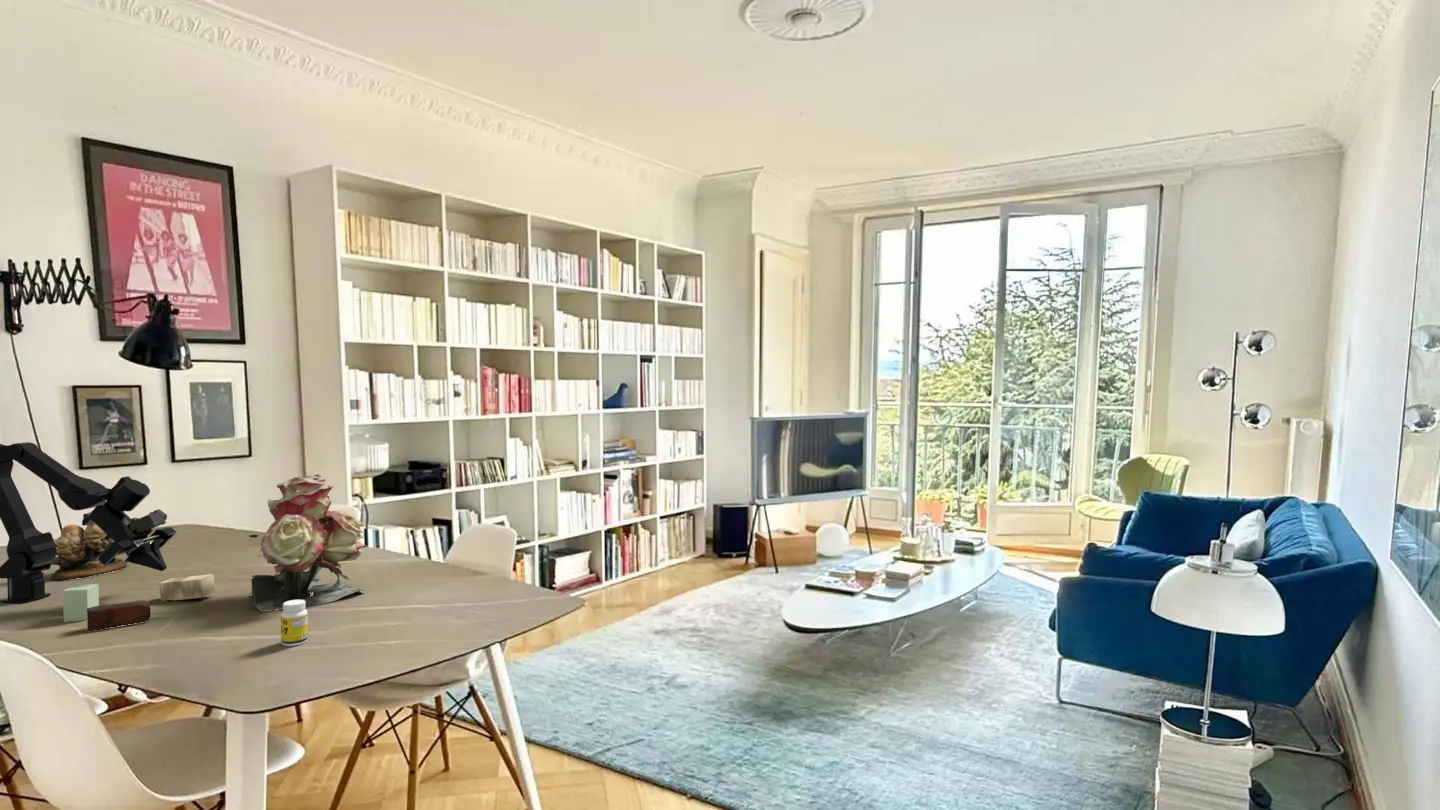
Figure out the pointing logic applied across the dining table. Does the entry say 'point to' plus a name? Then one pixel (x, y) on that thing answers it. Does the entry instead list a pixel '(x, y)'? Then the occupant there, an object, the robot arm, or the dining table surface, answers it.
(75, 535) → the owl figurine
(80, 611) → the sage block
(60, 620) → the dining table surface
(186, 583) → the maple block
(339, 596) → the rose bouquet
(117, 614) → the brick
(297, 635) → the supplement bottle
